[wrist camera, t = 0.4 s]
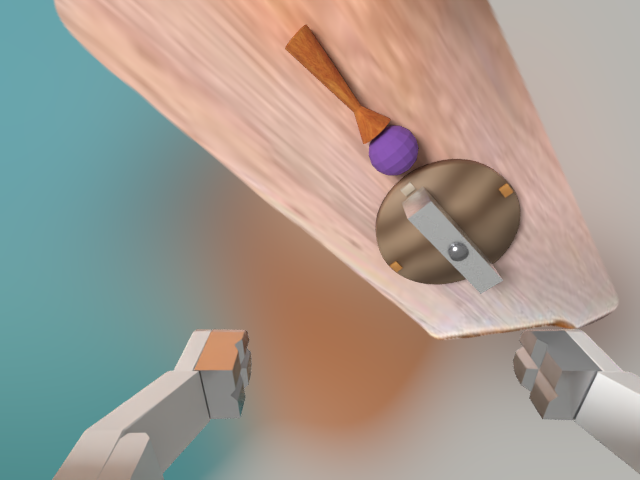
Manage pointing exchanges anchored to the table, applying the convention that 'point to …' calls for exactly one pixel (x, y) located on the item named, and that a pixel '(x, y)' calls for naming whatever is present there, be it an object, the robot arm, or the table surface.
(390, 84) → the table surface
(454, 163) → the lock plate
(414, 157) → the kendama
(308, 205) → the table surface
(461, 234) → the bar
